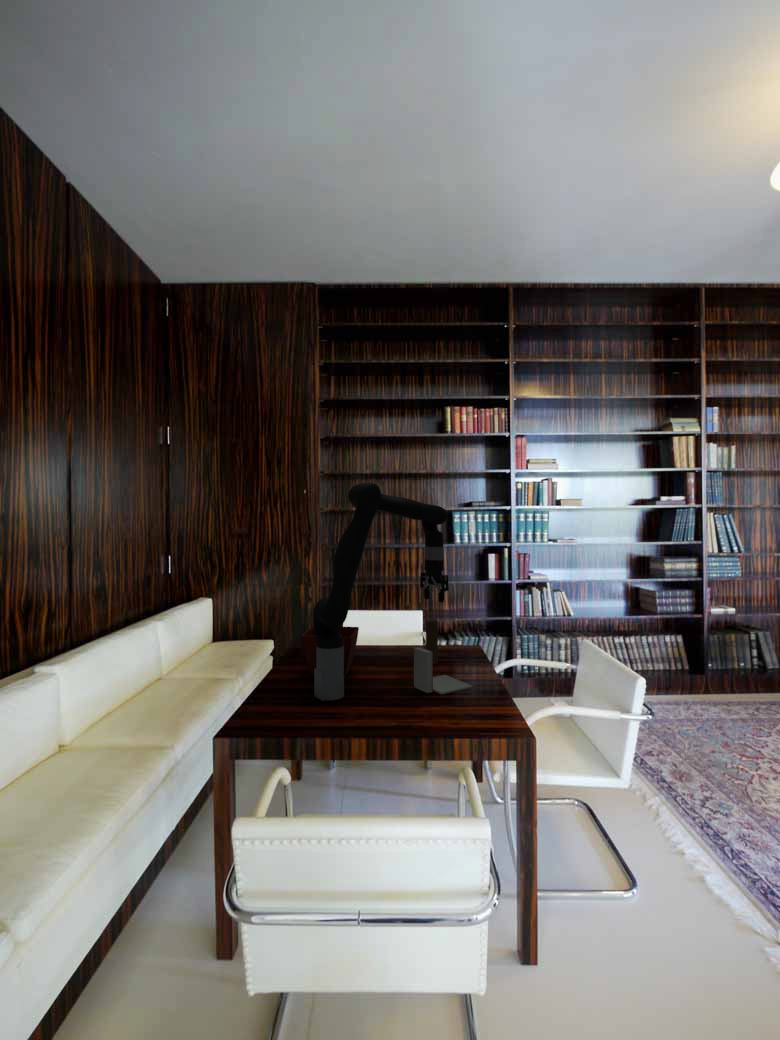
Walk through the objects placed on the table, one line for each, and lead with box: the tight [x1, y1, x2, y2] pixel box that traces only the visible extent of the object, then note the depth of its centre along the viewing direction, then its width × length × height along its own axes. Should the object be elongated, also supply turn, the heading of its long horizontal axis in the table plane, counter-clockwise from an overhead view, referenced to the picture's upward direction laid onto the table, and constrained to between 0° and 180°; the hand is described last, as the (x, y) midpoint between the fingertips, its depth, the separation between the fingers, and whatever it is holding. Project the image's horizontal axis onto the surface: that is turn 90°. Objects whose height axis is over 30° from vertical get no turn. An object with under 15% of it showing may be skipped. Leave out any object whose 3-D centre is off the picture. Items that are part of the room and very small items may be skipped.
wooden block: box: [423, 618, 439, 665], centre depth 223 cm, size 9×4×18 cm, turn 92°
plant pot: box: [301, 625, 360, 679], centre depth 208 cm, size 19×19×17 cm
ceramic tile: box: [413, 647, 434, 694], centre depth 189 cm, size 2×8×14 cm, turn 32°
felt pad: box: [433, 674, 474, 696], centre depth 193 cm, size 14×16×1 cm
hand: (433, 600), depth 205 cm, fingers open, 8 cm apart
